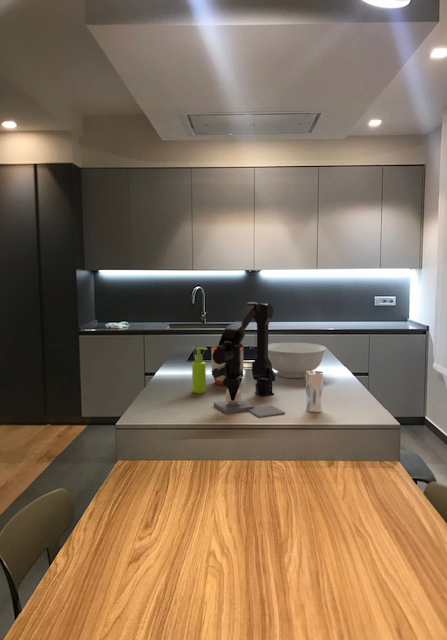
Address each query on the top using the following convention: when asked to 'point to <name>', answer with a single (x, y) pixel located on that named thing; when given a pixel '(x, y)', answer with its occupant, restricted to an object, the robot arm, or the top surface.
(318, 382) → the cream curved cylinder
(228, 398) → the cream domed square block
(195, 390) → the soap dispenser
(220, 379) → the citrus juicer
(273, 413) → the mat
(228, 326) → the robot arm
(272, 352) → the bowl
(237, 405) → the plinth
